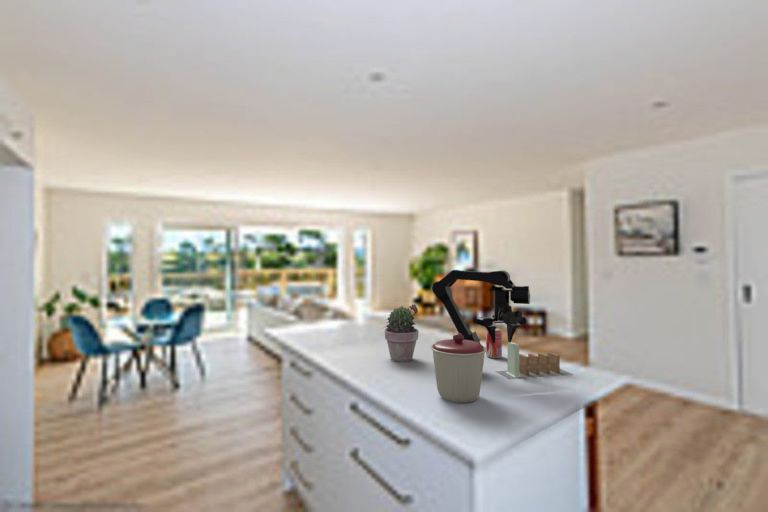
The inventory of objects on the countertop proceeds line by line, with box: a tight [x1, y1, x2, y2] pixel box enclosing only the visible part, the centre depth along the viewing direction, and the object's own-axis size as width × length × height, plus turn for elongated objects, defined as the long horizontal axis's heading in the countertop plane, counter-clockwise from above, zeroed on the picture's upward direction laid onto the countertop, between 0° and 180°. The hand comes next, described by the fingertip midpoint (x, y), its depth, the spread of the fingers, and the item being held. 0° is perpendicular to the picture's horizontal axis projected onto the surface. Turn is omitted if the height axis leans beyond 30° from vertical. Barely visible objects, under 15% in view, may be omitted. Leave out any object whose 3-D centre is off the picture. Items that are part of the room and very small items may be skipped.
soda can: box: [485, 327, 503, 359], centre depth 173 cm, size 7×7×13 cm
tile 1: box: [507, 341, 520, 376], centre depth 145 cm, size 2×5×12 cm, turn 12°
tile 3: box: [527, 353, 540, 375], centre depth 147 cm, size 2×5×7 cm, turn 12°
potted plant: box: [378, 303, 419, 363], centre depth 170 cm, size 18×20×25 cm
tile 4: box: [537, 352, 550, 374], centre depth 148 cm, size 2×5×7 cm, turn 12°
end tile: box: [547, 351, 561, 373], centre depth 149 cm, size 2×5×7 cm, turn 12°
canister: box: [430, 332, 487, 404], centre depth 122 cm, size 18×18×21 cm
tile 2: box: [519, 353, 529, 376], centre depth 146 cm, size 2×5×7 cm, turn 12°
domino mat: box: [494, 368, 573, 380], centre depth 147 cm, size 28×10×1 cm, turn 102°
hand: (501, 342), depth 144 cm, fingers open, 6 cm apart
